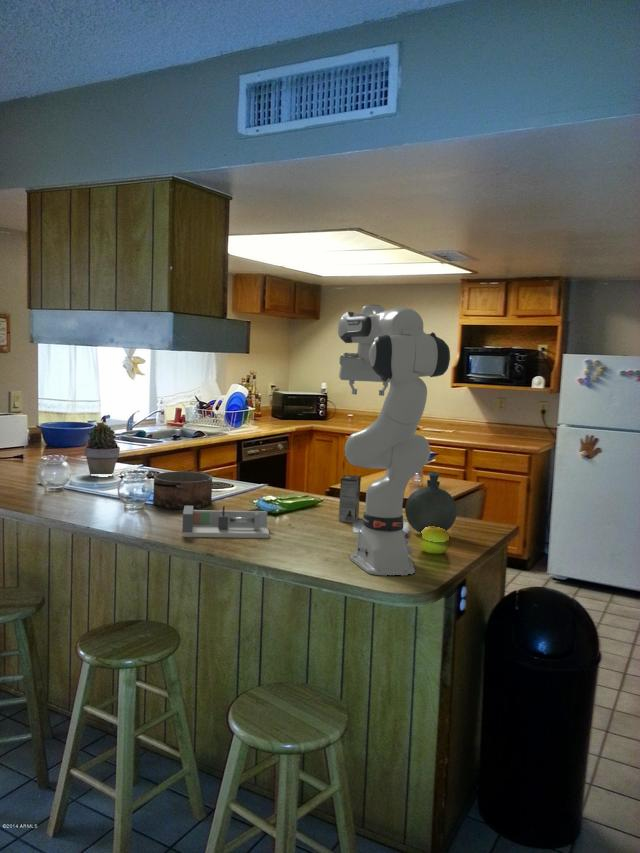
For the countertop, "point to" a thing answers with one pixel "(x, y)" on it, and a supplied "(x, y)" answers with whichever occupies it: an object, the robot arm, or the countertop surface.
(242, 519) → the plunger
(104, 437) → the potted plant
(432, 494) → the flask
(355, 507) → the coffee box
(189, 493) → the cooking pot
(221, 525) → the needle rider
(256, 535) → the gauge bed
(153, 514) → the countertop surface
